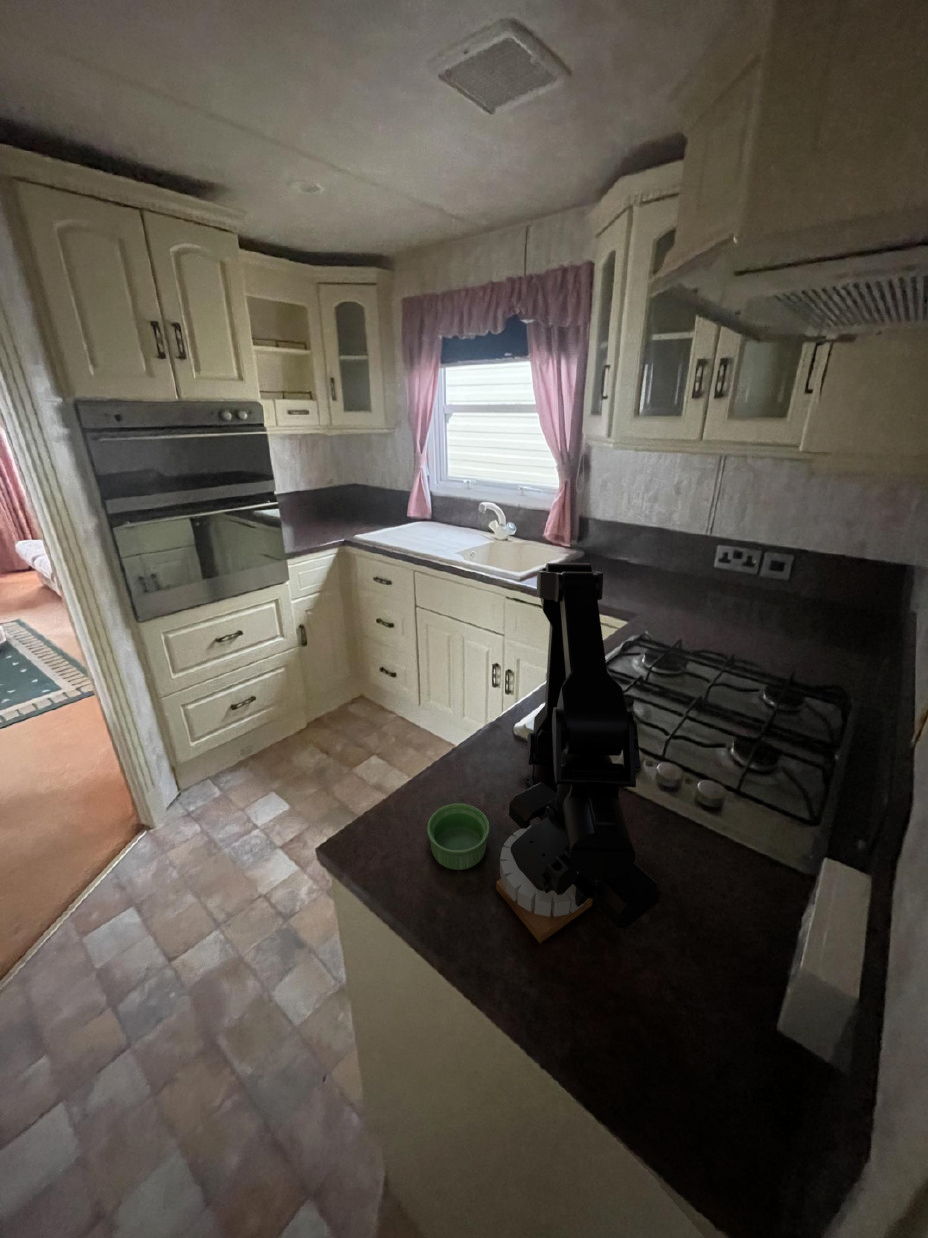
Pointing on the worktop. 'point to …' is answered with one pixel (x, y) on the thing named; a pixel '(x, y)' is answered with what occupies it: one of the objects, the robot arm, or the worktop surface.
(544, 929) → the wooden peg stand
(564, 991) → the worktop surface
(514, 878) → the segmented block ring
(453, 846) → the ramekin
